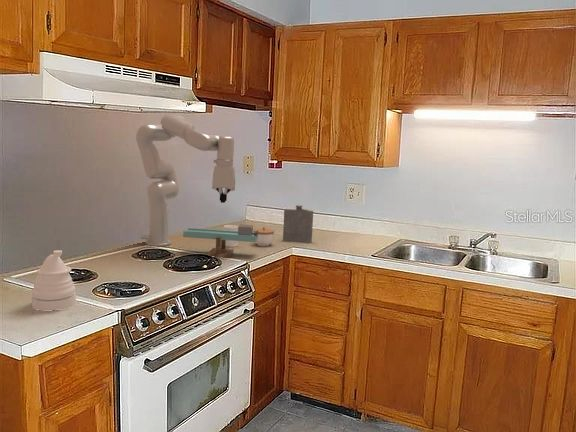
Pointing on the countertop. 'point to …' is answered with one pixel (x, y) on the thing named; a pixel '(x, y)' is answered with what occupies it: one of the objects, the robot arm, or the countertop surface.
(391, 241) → the countertop surface
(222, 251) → the stand
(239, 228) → the block
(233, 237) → the beam
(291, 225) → the hip flask
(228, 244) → the white cup
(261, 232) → the lidded jar
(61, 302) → the honey pot
